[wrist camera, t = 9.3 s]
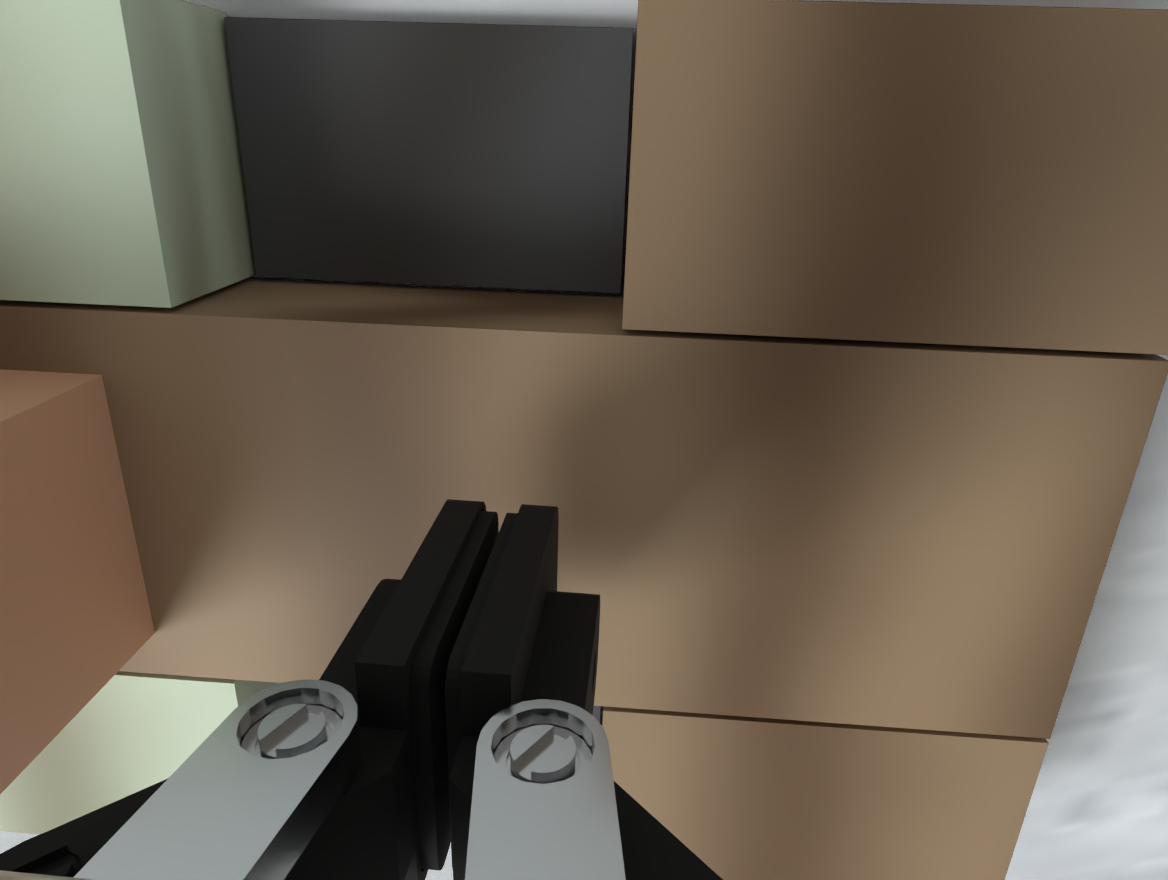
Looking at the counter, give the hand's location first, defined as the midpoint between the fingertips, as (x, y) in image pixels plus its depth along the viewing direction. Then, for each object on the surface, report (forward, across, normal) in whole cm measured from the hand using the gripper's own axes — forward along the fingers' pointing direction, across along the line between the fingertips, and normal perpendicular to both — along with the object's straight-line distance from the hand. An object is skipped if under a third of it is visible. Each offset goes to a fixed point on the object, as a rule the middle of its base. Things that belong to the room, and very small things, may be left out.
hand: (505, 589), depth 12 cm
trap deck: (+4, +2, 0) cm, 5 cm away
